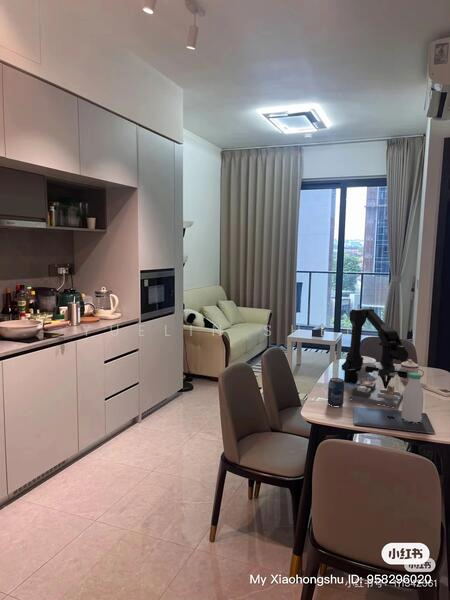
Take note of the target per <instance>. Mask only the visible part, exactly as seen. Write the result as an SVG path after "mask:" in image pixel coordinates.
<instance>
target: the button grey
mask: <svg viewBox="0 0 450 600" xmlns="http://www.w3.org/2000/svg"><path fill="white" fill-rule="evenodd" d="M356 386H357V390H359V391H365V392H366V391H367V387H365V386H358V385H356Z"/></svg>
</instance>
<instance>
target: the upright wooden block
mask: <svg viewBox="0 0 450 600" xmlns="http://www.w3.org/2000/svg"><path fill="white" fill-rule="evenodd" d="M386 389H387V394H390V395H394V390H395V385H394V384H390V383H389V384H388V386H387V388H386Z"/></svg>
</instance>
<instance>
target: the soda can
mask: <svg viewBox="0 0 450 600" xmlns="http://www.w3.org/2000/svg"><path fill="white" fill-rule="evenodd" d="M343 380H344V378H340V377H339V378H338V377H330V379H329V381H328V386H327V387H328V388H327V389H328V390H327V403H328V405H329V404H330V405H332V406H341V407H342V406H343V405H344V397H345V395H344V393H345V382H343ZM330 405H329V406H330Z"/></svg>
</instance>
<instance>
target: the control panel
mask: <svg viewBox="0 0 450 600" xmlns="http://www.w3.org/2000/svg"><path fill="white" fill-rule="evenodd" d="M362 382H370V383H371V385H365V384H362ZM357 386H365V387H367V391H366V392H365V391H359V390H357ZM376 386H377V383H376V382H374V381H368V380H362V379H361V380H360V381H358V382H357V385H355V386H354V387H353V388H352V390H351V393H350V394H349V395H348V396H349V397H348V399H352V400H351V401H354V400H356V401H355V402H359V401H361V402H360V403H364V402H367V403H366V404H370V403H372V404H371V405H375V404H380V405H385V406H384V407H386V406H389V407H388V408H391V407H394V408H393V409H397V408H398V407H399V404H400V403H401V400H402V399H403V393H404V391H399V390H395V389H394V395H390V394H387V388H386V389H385V388H384V387H378V386H377V387H376ZM380 405H379V406H380Z"/></svg>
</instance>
